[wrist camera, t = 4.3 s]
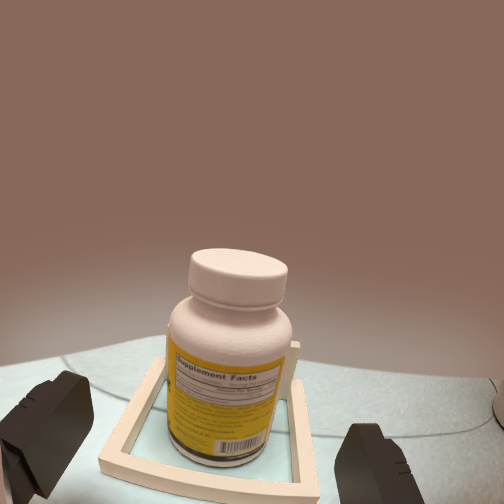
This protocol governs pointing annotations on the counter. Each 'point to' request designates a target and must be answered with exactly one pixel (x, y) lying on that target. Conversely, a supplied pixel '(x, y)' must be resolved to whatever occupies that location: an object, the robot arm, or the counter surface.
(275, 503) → the beige open frame
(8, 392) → the counter surface
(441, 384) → the counter surface
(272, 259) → the supplement bottle
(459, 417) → the counter surface
